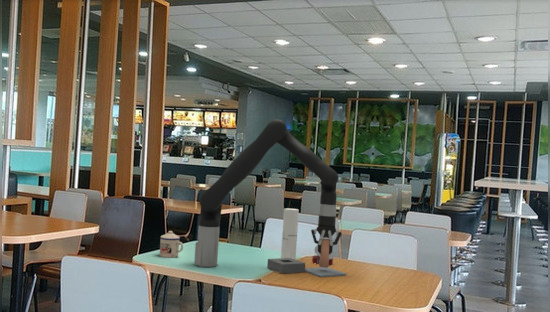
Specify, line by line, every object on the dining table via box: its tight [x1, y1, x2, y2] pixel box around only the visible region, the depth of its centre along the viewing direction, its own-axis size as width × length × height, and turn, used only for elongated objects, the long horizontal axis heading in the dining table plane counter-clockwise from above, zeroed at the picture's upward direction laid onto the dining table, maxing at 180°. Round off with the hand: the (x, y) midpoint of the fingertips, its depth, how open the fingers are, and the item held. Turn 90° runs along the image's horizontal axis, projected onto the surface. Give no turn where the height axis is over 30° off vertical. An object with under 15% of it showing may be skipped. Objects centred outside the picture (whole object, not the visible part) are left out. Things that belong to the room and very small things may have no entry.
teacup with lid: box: [159, 230, 184, 259], centre depth 237 cm, size 12×9×12 cm
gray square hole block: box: [266, 257, 306, 275], centre depth 223 cm, size 12×12×4 cm
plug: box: [318, 238, 330, 268], centre depth 223 cm, size 4×4×12 cm
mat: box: [305, 266, 347, 278], centre depth 223 cm, size 14×14×1 cm
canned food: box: [311, 244, 334, 266], centre depth 245 cm, size 11×10×10 cm
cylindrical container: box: [280, 207, 300, 260], centre depth 245 cm, size 7×7×25 cm
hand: (324, 253), depth 223 cm, fingers closed on plug, 3 cm apart
